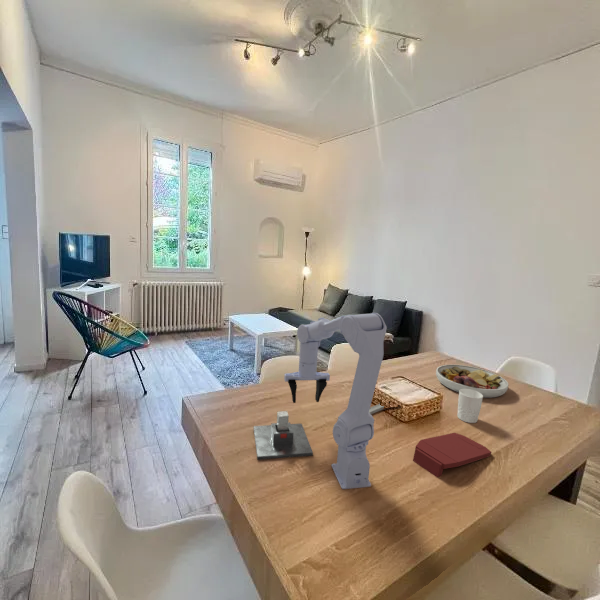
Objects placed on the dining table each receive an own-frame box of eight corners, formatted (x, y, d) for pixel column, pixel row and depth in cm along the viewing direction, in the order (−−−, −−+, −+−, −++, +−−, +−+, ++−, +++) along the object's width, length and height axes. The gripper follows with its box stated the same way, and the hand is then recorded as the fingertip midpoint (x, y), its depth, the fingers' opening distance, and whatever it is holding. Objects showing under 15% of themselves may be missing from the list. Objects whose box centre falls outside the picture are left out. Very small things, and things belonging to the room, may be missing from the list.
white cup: (455, 420, 124) (458, 394, 122) (456, 411, 131) (459, 387, 129) (479, 426, 120) (483, 400, 119) (479, 417, 127) (483, 392, 126)
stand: (312, 455, 98) (313, 441, 97) (257, 459, 95) (258, 445, 94) (301, 426, 113) (302, 413, 113) (253, 428, 110) (254, 416, 109)
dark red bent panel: (453, 445, 114) (407, 457, 100) (457, 432, 114) (410, 441, 100) (489, 466, 104) (443, 482, 90) (493, 451, 104) (447, 465, 90)
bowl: (437, 369, 177) (439, 355, 176) (503, 382, 164) (505, 367, 163) (432, 390, 150) (434, 373, 149) (510, 407, 138) (513, 389, 136)
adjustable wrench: (354, 423, 119) (354, 418, 118) (342, 414, 124) (342, 410, 123) (401, 407, 132) (401, 402, 132) (388, 400, 138) (389, 396, 137)
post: (287, 440, 103) (288, 416, 101) (277, 441, 102) (278, 416, 101) (285, 434, 106) (287, 411, 104) (275, 435, 105) (277, 411, 104)
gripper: (326, 356, 112) (324, 395, 115) (283, 357, 110) (281, 396, 112) (332, 364, 106) (329, 404, 108) (287, 364, 103) (284, 406, 105)
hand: (305, 401), depth 109 cm, fingers open, 7 cm apart
